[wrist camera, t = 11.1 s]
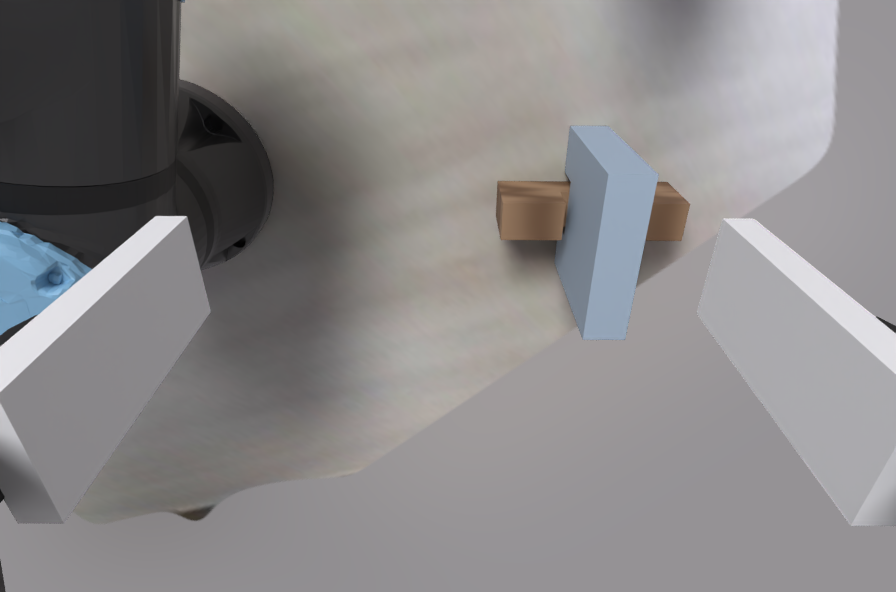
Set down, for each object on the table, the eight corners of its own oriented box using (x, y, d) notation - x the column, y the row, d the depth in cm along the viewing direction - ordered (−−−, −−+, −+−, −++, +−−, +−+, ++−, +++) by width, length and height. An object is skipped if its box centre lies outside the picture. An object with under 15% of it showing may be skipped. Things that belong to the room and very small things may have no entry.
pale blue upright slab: (554, 262, 49) (582, 339, 39) (570, 125, 43) (608, 174, 33) (587, 262, 49) (625, 339, 39) (608, 125, 43) (658, 174, 33)
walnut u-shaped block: (495, 215, 47) (500, 239, 43) (497, 181, 46) (503, 203, 41) (660, 216, 47) (681, 240, 43) (667, 182, 46) (690, 204, 41)
